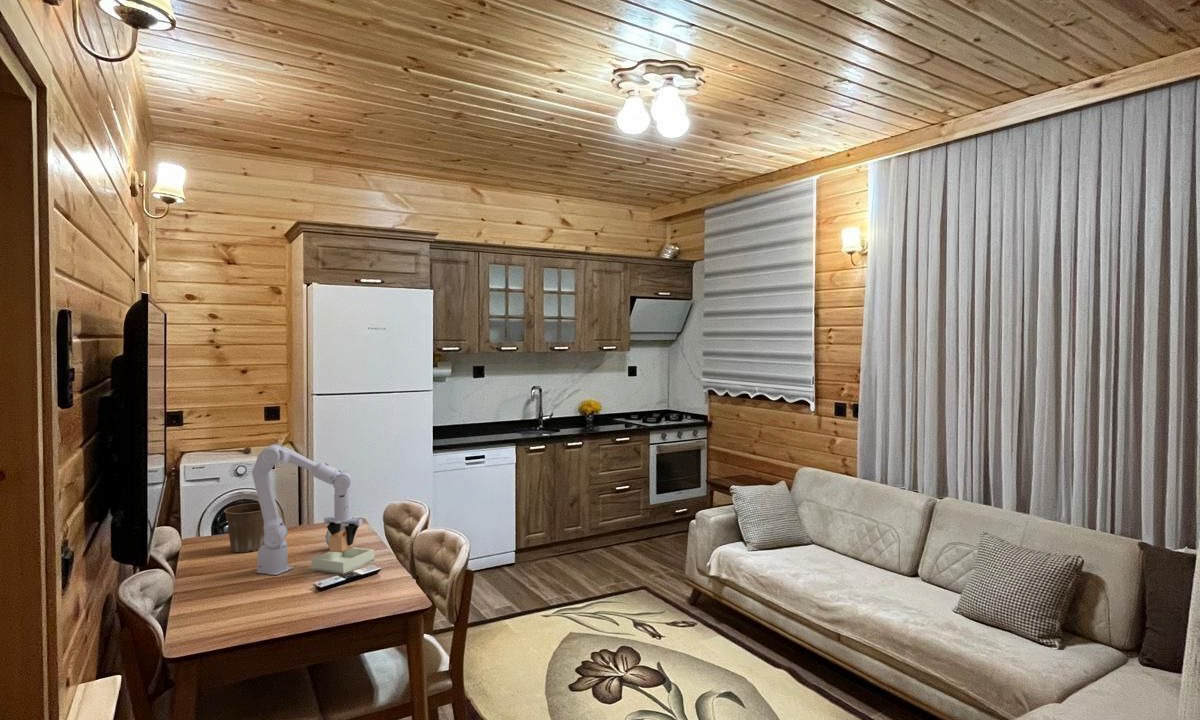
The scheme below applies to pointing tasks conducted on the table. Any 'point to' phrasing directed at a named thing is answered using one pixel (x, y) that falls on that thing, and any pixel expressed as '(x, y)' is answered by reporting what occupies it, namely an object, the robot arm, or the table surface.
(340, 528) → the mug
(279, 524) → the robot arm
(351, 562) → the big crate
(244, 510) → the plant pot
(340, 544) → the box
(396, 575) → the table surface
